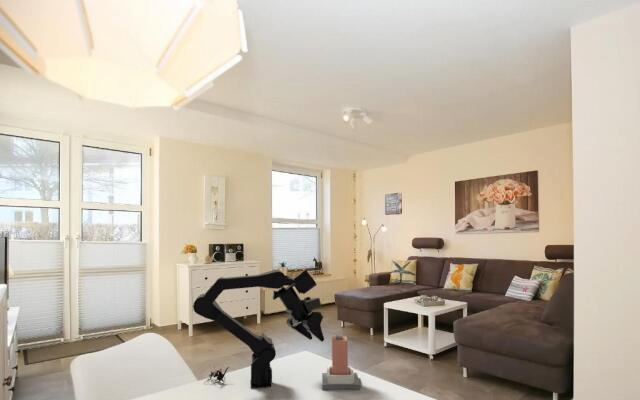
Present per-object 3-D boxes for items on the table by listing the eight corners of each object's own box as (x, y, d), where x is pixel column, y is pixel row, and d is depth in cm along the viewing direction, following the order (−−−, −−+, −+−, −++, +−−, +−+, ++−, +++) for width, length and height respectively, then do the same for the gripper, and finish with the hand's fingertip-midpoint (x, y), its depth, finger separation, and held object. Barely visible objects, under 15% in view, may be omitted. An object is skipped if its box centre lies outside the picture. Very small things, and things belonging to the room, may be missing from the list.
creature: (200, 385, 129) (213, 386, 125) (198, 368, 131) (211, 368, 126) (219, 378, 135) (233, 378, 131) (217, 362, 137) (231, 362, 132)
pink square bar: (332, 381, 125) (332, 337, 126) (332, 375, 130) (331, 333, 131) (348, 381, 125) (347, 337, 126) (347, 375, 130) (346, 333, 131)
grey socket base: (322, 389, 122) (322, 376, 122) (322, 377, 132) (322, 365, 132) (359, 389, 122) (359, 376, 122) (356, 377, 132) (356, 365, 132)
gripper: (321, 286, 127) (346, 325, 128) (298, 289, 143) (321, 323, 144) (296, 307, 122) (323, 348, 122) (276, 308, 138) (299, 343, 138)
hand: (317, 339), depth 132 cm, fingers open, 9 cm apart
